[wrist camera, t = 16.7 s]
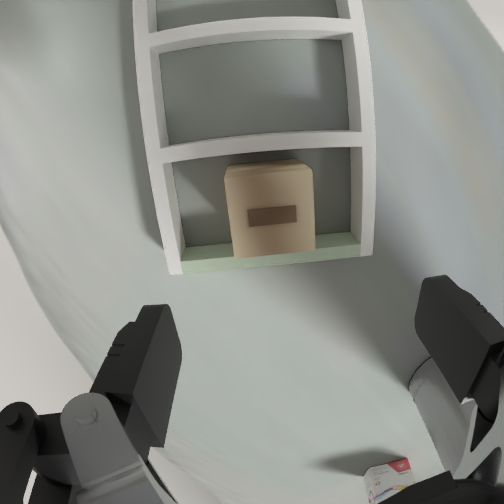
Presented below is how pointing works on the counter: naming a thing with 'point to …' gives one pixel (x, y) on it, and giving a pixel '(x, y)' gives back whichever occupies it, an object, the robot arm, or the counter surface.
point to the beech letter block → (270, 207)
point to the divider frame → (163, 154)
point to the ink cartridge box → (387, 480)
